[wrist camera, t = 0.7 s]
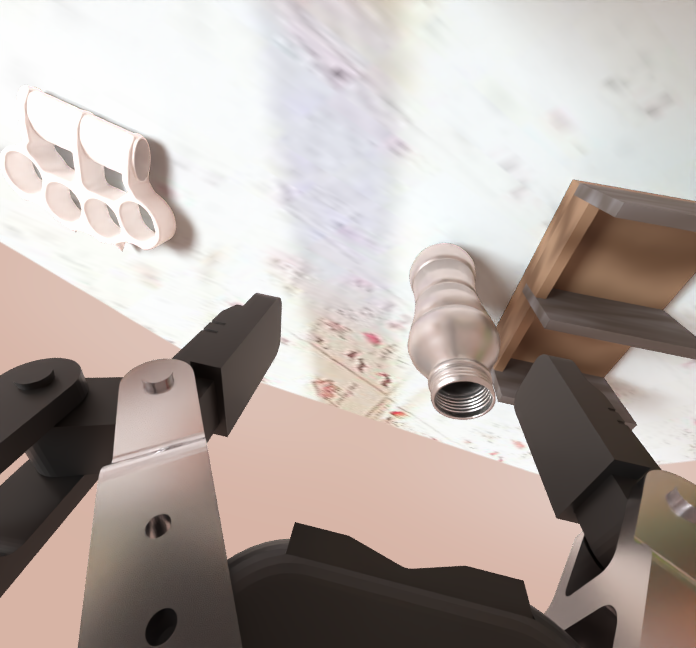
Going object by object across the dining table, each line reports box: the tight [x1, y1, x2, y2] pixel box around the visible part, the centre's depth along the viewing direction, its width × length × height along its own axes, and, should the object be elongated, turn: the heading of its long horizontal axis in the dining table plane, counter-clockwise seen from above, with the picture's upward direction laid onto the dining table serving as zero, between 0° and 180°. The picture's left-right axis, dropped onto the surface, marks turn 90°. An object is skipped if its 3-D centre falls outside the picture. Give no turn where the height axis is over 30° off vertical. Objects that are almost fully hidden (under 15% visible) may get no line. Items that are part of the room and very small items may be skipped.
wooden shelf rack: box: [490, 180, 696, 430], centre depth 31 cm, size 21×14×8 cm, turn 172°
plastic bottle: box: [408, 243, 501, 420], centre depth 27 cm, size 6×7×20 cm
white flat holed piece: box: [0, 85, 176, 251], centre depth 35 cm, size 3×18×15 cm
